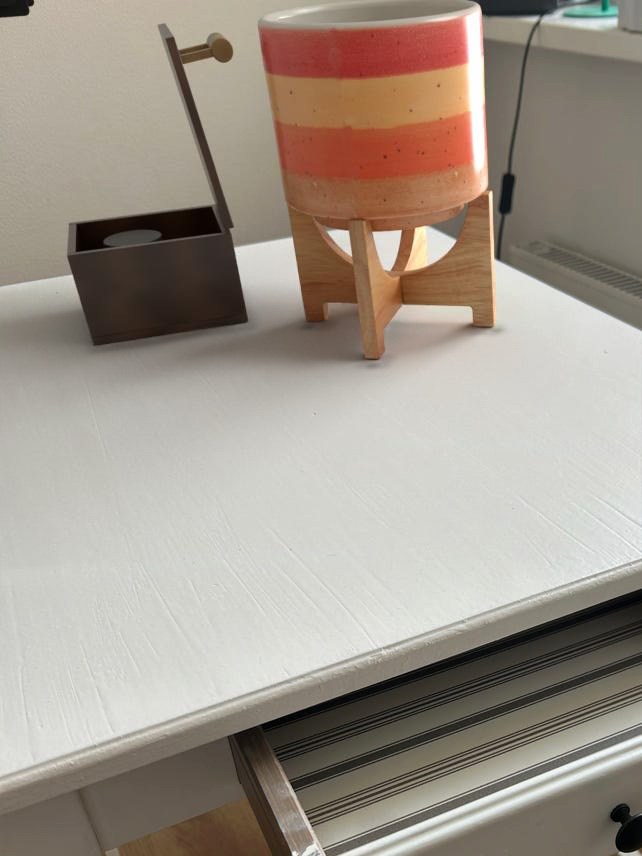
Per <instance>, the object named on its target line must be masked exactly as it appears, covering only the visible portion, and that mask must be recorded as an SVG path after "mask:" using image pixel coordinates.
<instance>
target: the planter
mask: <svg viewBox="0 0 642 856" xmlns="http://www.w3.org/2000/svg"><path fill="white" fill-rule="evenodd" d="M257 30H258V37H259V44H260V52H261V57H262V58H261V59H262V66H263V71H264V76H265V82H266V87H267V88H266V89H267V94H268V100H269V105H270V106H269V107H270V111H271V119H272V124H273V130H274V131H273V132H274V138H275V144H276V150H277V151H276V152H277V158H278V165H279V171H280V176H281V182H282V189H283V194H284V195H283V196H284V200H285V202H286V206H287V212H288V217H289V223H290V230H291V235H292V243H293V248H294V255H295V262H296V267H297V273H298V280H299V287H300V293H301V299H302V306H303V311H304V317H305V322H315V323H316V322H318V323H324V322H326V321H327V320H328V319H329V318H330V310H329V304H356V305H357V306H358V307H357V308H358V315H359V323H360V331H361V337H362V338H361V340H362V346H363V355H364V359H374V360H375V359H376V360H380V359H381V358H382V356H383V355H384V353H385V352H386V345H385V335H384V331H385V329H386V328H387V326H388V325H389V324H390V322H391V321H392V320H393V318H394V317H395V316H396V314H397V313H398V312H399V310H400V309H401V308H402V306H438V307H439V306H440V307H470V308H471V310H472V325H473V327H490V328H491V327H492V328H493V327H495V325H496V323H497V297H496V295H497V294H496V268H495V265H496V264H495V241H494V239H495V237H494V214H493V213H494V211H493V210H494V209H493V207H494V206H493V205H494V203H493V191H492V190H491V189H490V190H487V189H488V187H489V161H488V159H489V158H488V137H487V136H488V135H487V117H486V91H485V89H486V88H485V54H484V53H485V51H484V32H483V31H484V29H483V13H482V8H481V5H480V4H479V3H477V2H475V1H473V0H351V1H339V2H330V3H329V2H328V3H320V4H313V5H312V4H311V5H304V6H297V7H291V8H285V9H281V10H276V11H272V12H269V13H266V14H264V15H261V16H260V17H259V18H258V20H257ZM465 204H467V208H466V209H467V210H466V214H465V219H464V222H463V224H462V228H461V230H460V233H459V234H458V237H457V238H456V241H455V243H454V244H453V245H452V247H451V248H450V249H449V250H448V252H446V253H445V254H444V255H443V256H442V257H440V258H438V260H436V261H434V262H432V263H431V264H429V255H428V242H427V241H428V240H427V231H426V230H427V229H426V227H428V226H431V225H435V224H439V223H443V222H446V221H448V220H450V219H451V218H454V217H455V216H457V215H459V214H460V213H461V212H462V211H463V209H464V207H465ZM325 227H327V228H330V229H335V230H340V231H346V232H348V234H349V235H348V236H349V242H350V243H349V244H350V250H351V255H350V254H349V253H347V252H346V251H345V250H343V248H341V246H339V244H338V243H337V242H335V240H334V239H333V238H332V236H331V235H330V234H329V232H328V231H327V229H326V228H325ZM396 231H401V232H400V239H399V244H398V251H397V254H396V258H395V260H394V263H393V265H392V267H391V268H390V270H386V269H384V266H383V265H382V262H381V260H380V257H379V253H378V249H377V247H376V242H375V237H374V233H383V232H396Z"/></svg>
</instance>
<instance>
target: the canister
mask: <svg viewBox="0 0 642 856" xmlns="http://www.w3.org/2000/svg"><path fill="white" fill-rule="evenodd" d="M157 241H163V238H162V234H161V233H160V232H158V231H154V230H133V231H126V232H121V233H117V234H114V235H111V236H109V237H107V238H106V239H105V240H104V241H103V243H104V247H105V248H113V247H120V246H127V245H135V244H142V243H150V242H157Z"/></svg>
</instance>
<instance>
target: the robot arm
mask: <svg viewBox="0 0 642 856" xmlns="http://www.w3.org/2000/svg"><path fill="white" fill-rule="evenodd" d="M34 5H35V0H0V19H4V18H5V19H6V18H15V17H16V18H17V17H27V16H28V15H29V14H30V12H31V11H30V8H31V7H33V6H34Z"/></svg>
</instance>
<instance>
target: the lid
mask: <svg viewBox="0 0 642 856" xmlns="http://www.w3.org/2000/svg"><path fill="white" fill-rule="evenodd" d="M157 29H158V32H159V35H160V37H161V41H162V44H163V48H164V51H165V53H166V57H167V60H168V63H169V66H170V69H171V73H172V76H173V78H174V81H175V85H176V88H177V91H178V94H179V97H180V100H181V104H182V107H183V110H184V112H185V116H186V118H187V121H188V125H189V127H190V131H191V134H192V137H193V140H194V143H195V146H196V150H197V153H198V156H199V159H200V161H201V165H202V169H203V171H204V174H205V177H206V181H207V183H208V186H209V189H210V190H209V191H210V193H211V197H212V199H213V201H214V204H216V206H217V209H218V211H219V213H220V216H221V218H222V220H223V223H224V225H225V227H226V229H229V230H231V229H233V228H235V225H234V222H233V219H232V216H231V212H230V210H229V206H228V202H227V200H226V196H225V193H224V190H223V187H222V184H221V181H220V177H219V174H218V171H217V168H216V165H215V161H214V159H213V155H212V152H211V149H210V146H209V143H208V140H207V137H206V133H205V130H204V126H203V124H202V120H201V117H200V114H199V111H198V108H197V104H196V102H195V98H194V95H193V92H192V89H191V85H190V83H189V80H188V77H187V73H186V70H185V67H184V65H187V64H190V63H195V62H199V61H203V60H207V59H210V58H211V59H212V58H214V60H216V61H217V62H219V63H221V64H225V63H229V62H230V61H231V60H233V59H232V58H233V57H234V47H233V44H232V43H231V42H230V40H228V39H227V38H226V37H225V36H224V35H223V34H222V33H220V32H212V33H210V34H209V35H208V36H207V38H206V42H205V43H200V44H196V45H192V46H189V47H183V48H180V49H179V48H178V44H177V42H176V39H175V36H174V35H173V33H172V32H171V30H170V28H169V27H168V26H167V24H166V22H165V23H160V24H157Z"/></svg>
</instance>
